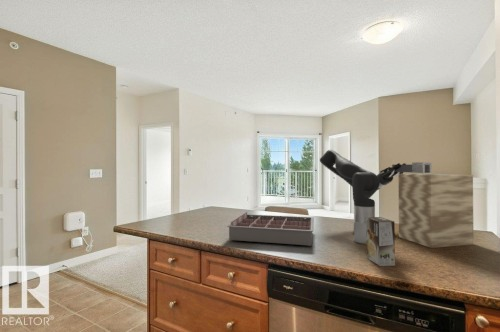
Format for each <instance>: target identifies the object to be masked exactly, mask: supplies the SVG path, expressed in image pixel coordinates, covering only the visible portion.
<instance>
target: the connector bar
mask: <svg viewBox="0 0 500 332" xmlns="http://www.w3.org/2000/svg"><path fill="white" fill-rule="evenodd" d="M395 165H396V164H392V165H391V167H393V166H395ZM400 165H401V167H400V168H398V169H397V170H396V171H395V172H403V173H411V174H433V171H432V166H433V165H432V162H431V161H428V162H427V161H423V162H422V161H421V162H419V161H418V162H412V163H411V164H406V165H402V164H400Z"/></svg>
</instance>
